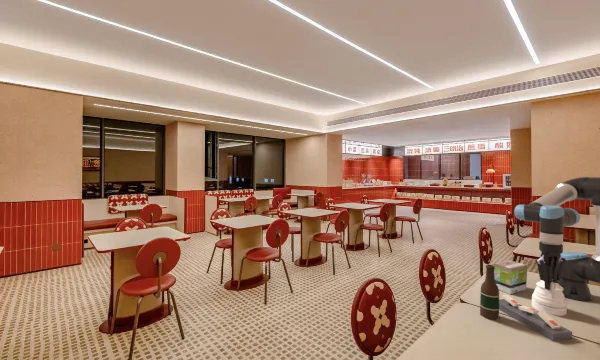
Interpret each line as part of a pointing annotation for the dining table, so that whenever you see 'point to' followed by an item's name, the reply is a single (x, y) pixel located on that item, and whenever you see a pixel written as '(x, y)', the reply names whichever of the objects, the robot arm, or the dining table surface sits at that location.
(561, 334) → the power strip
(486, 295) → the beer bottle
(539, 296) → the honey pot
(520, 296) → the dining table surface
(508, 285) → the tea box
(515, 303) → the rocker
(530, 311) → the middle rocker
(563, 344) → the dining table surface
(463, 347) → the dining table surface
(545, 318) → the end rocker
